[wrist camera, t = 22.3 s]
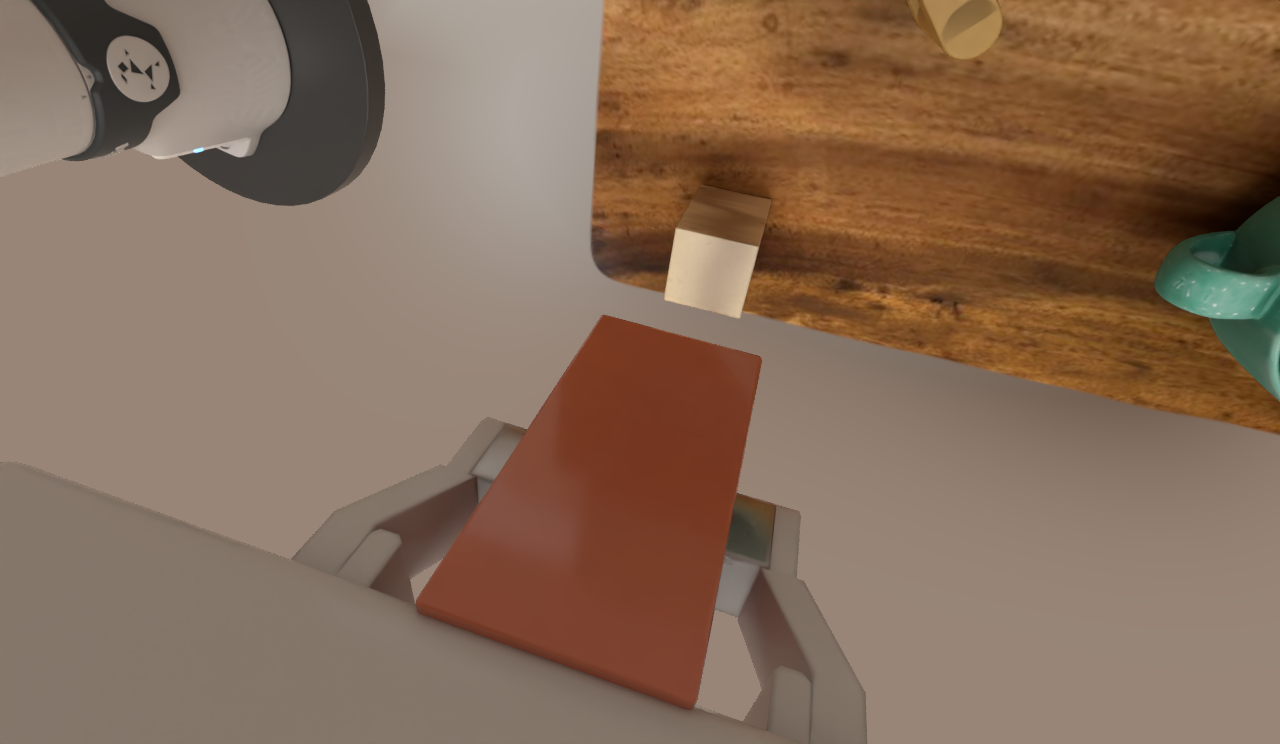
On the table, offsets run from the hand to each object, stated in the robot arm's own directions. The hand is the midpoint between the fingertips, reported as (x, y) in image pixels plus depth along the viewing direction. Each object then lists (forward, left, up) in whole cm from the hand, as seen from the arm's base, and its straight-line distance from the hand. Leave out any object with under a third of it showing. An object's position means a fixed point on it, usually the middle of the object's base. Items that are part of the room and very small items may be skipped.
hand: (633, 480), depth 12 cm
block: (0, 0, -3) cm, 3 cm away
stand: (-1, -7, -31) cm, 32 cm away
